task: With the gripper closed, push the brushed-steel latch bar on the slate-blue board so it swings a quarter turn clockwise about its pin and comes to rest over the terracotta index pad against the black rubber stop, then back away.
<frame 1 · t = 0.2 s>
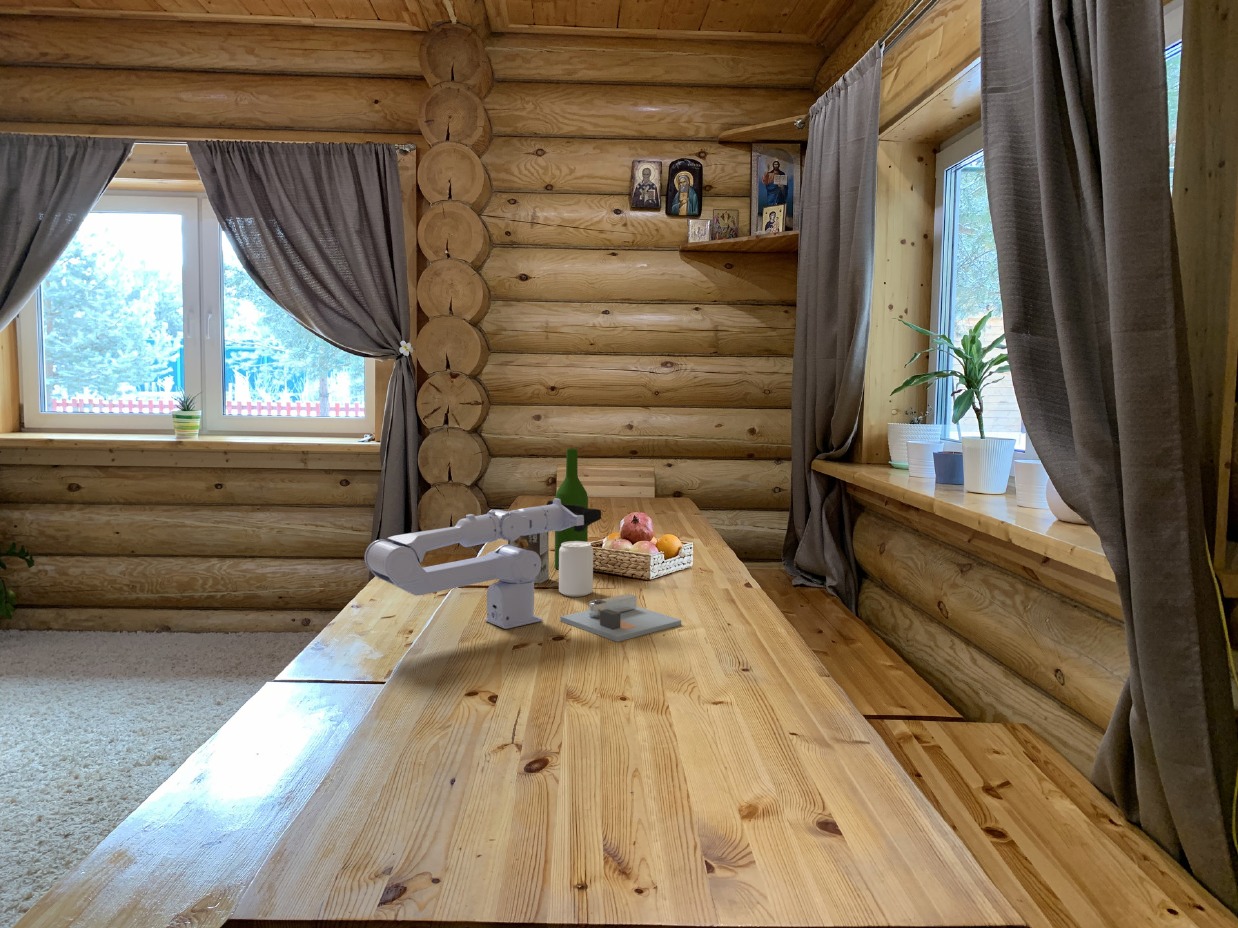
hand: (589, 512, 182), 21 cm above the table, tool horizontal, fingers open, 7 cm apart
beverage can: (575, 594, 195), on the table
coffee box: (528, 580, 207), on the table
wine bottle: (570, 568, 221), on the table
latch board: (620, 622, 171), on the table
latch bar: (612, 604, 174), point 3 cm above the table, hinge at 0.0°
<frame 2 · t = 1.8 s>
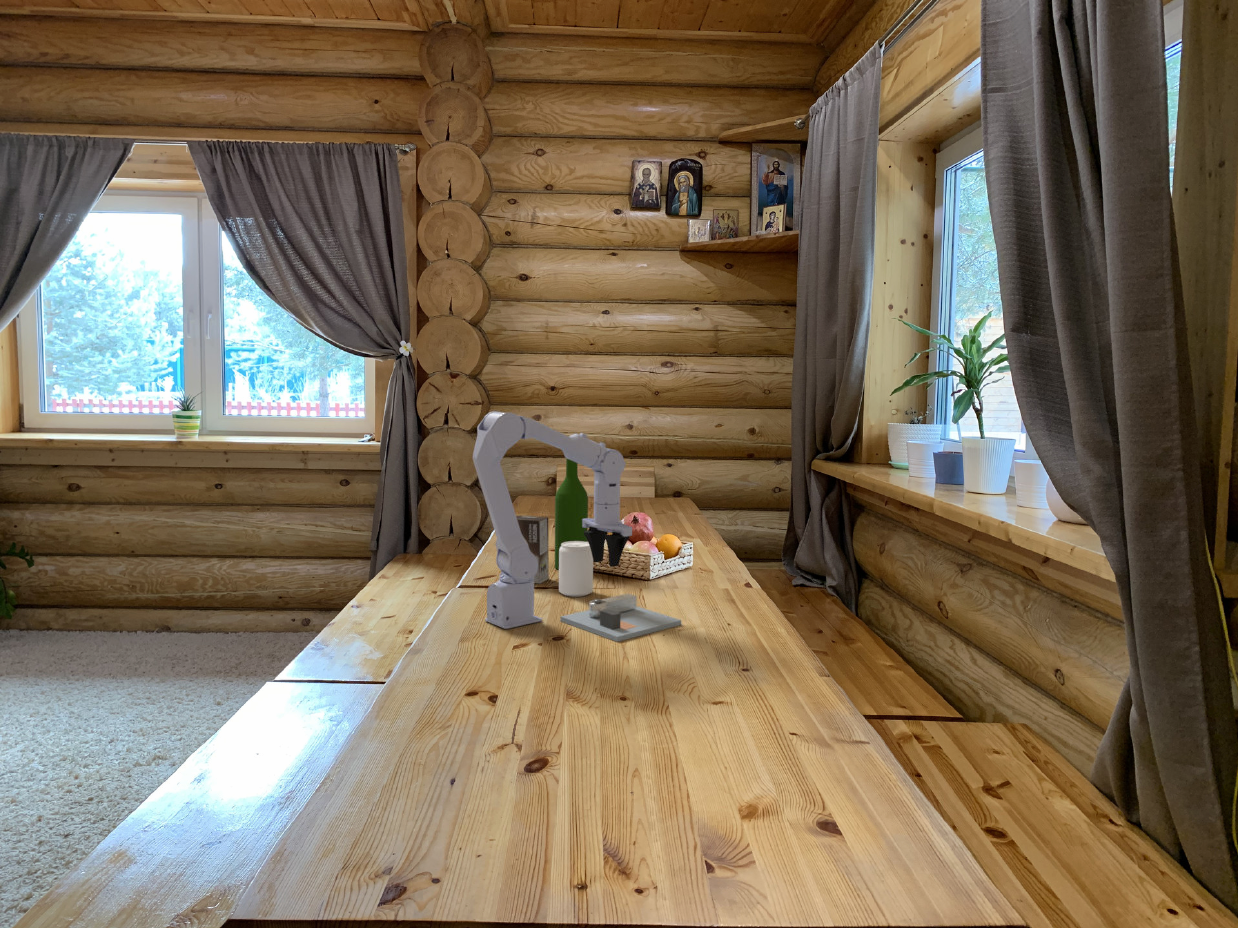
hand: (606, 563, 179), 10 cm above the table, tool pointing down, fingers open, 5 cm apart
nothing on the table moved.
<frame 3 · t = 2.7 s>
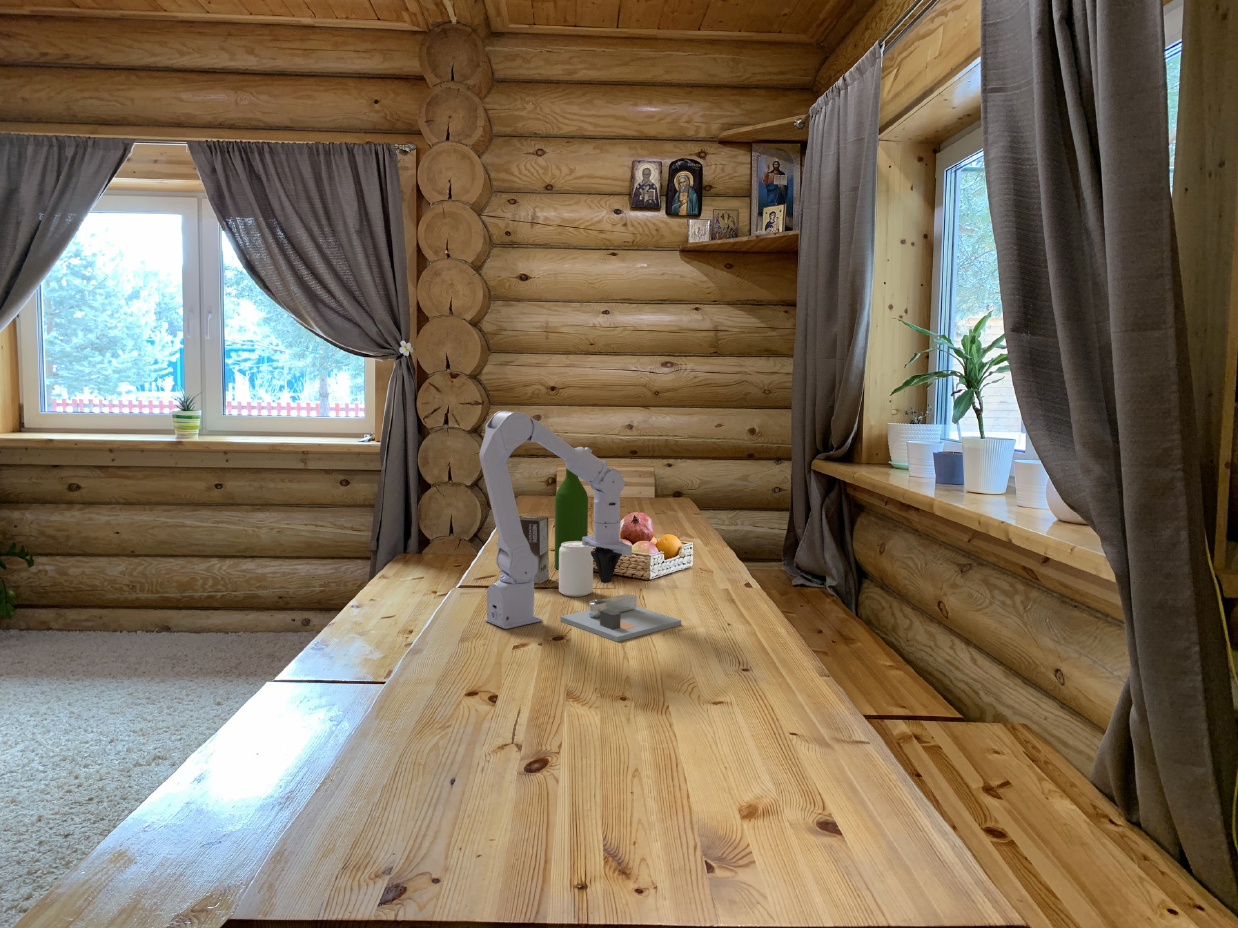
hand: (606, 582, 180), 6 cm above the table, tool pointing down, fingers closed
nothing on the table moved.
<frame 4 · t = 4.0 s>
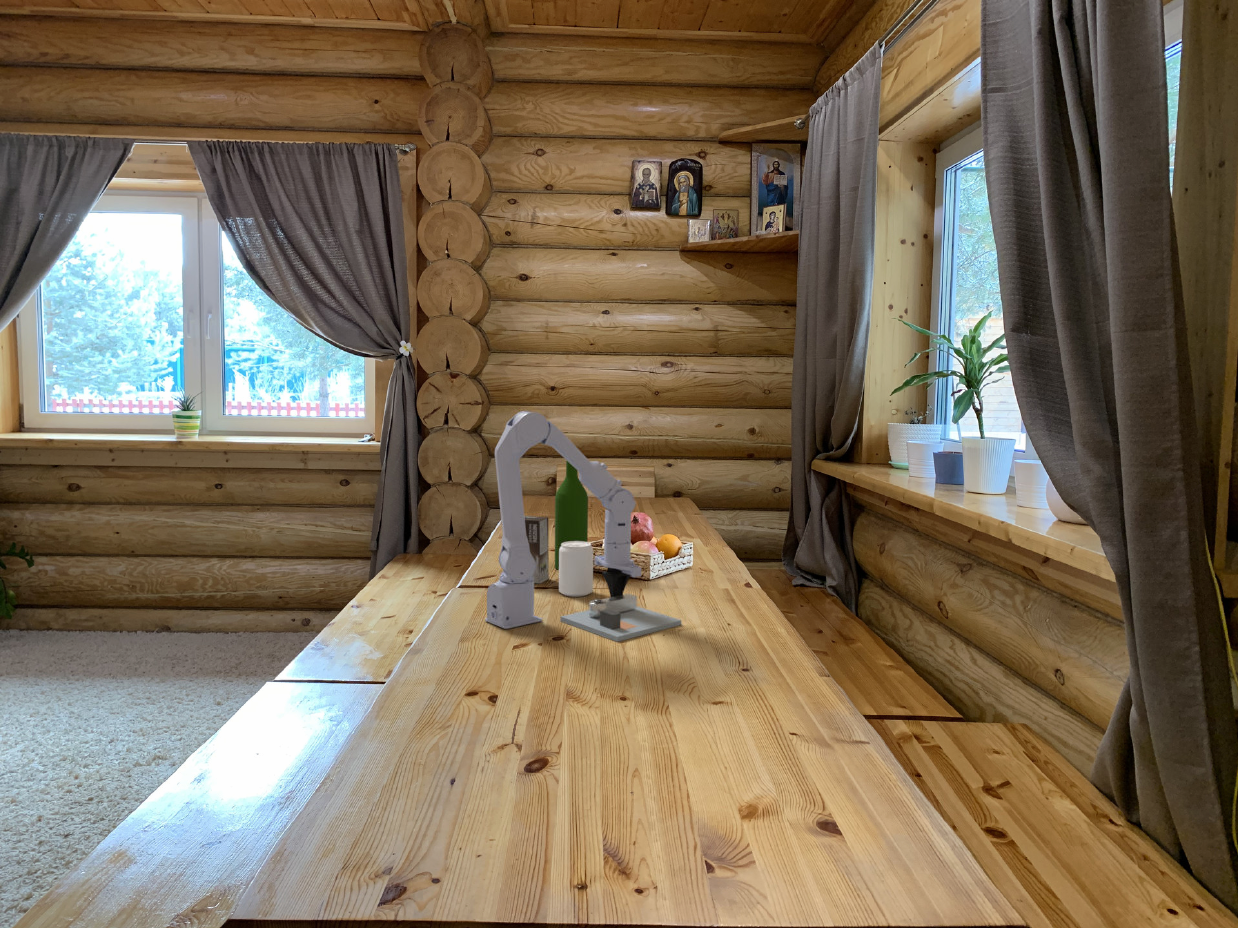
hand: (616, 602, 178), 2 cm above the table, tool pointing down, fingers closed, pressing on latch bar
latch bar: (612, 604, 174), point 3 cm above the table, hinge at 0.5°, touching gripper
everything else where it was.
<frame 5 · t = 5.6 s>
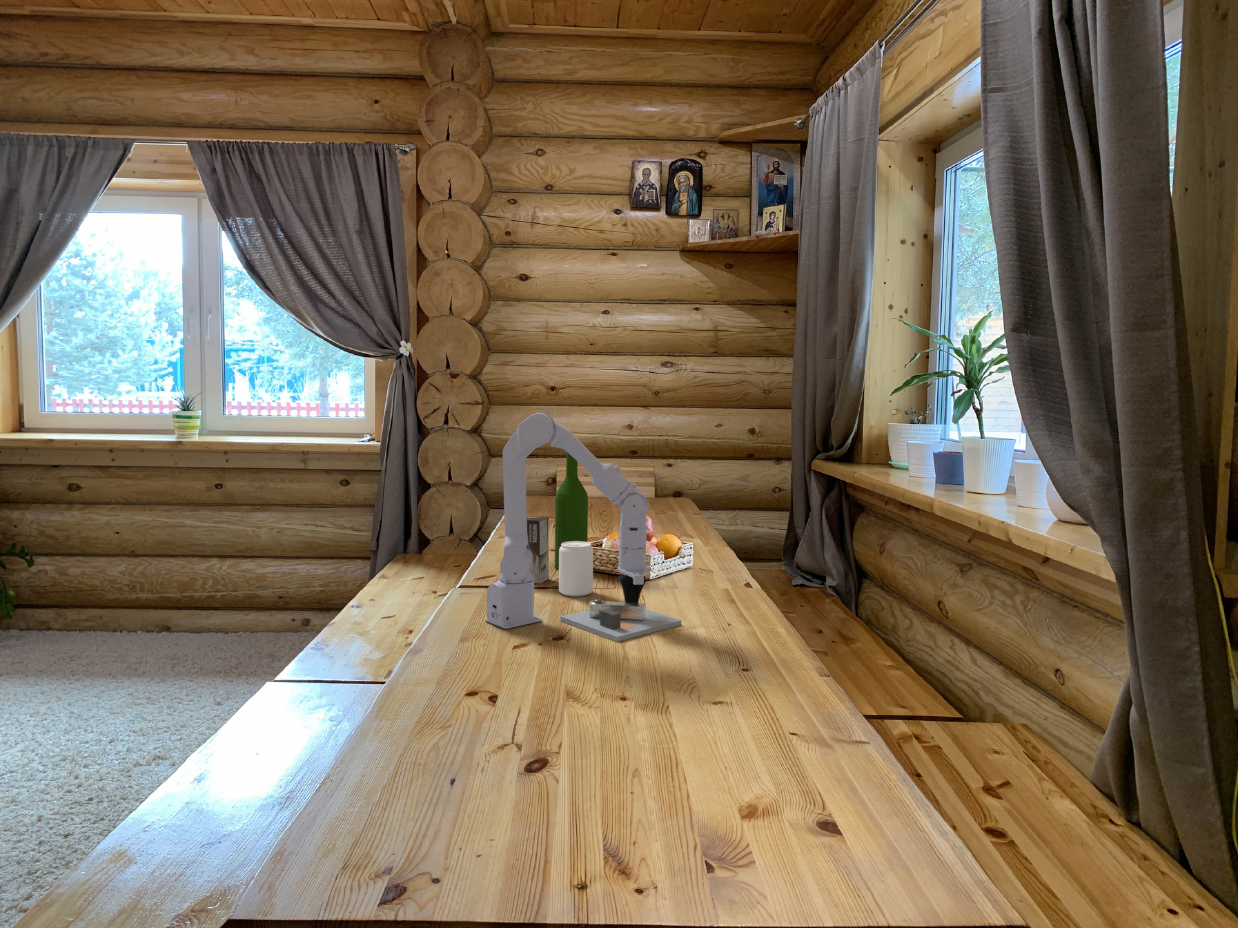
hand: (631, 609, 172), 2 cm above the table, tool pointing down, fingers closed, pressing on latch bar
latch bar: (616, 608, 171), point 3 cm above the table, hinge at 52.5°, touching gripper
everything else where it was.
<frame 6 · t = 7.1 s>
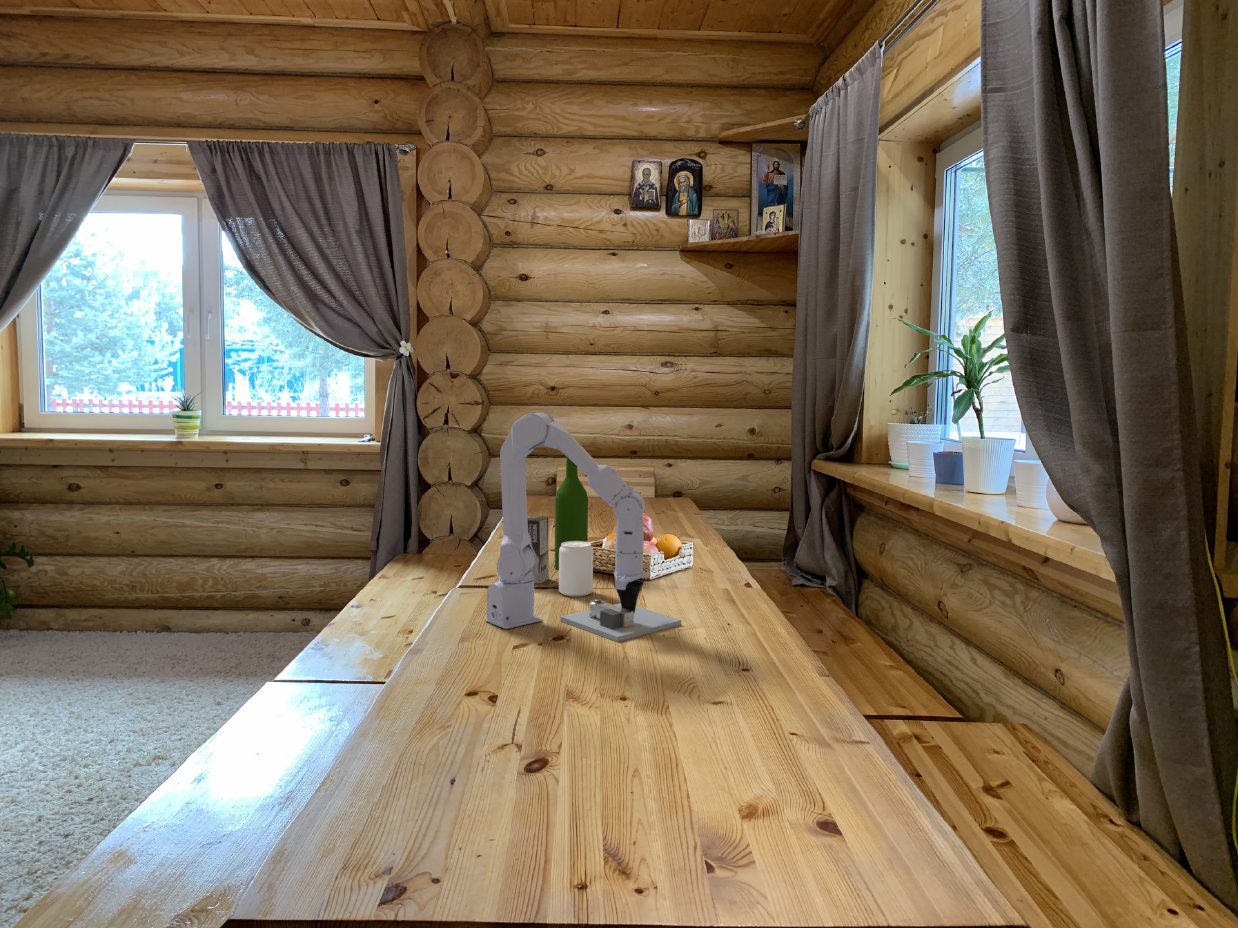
hand: (628, 615, 168), 2 cm above the table, tool pointing down, fingers closed
latch bar: (610, 611, 168), point 3 cm above the table, hinge at 91.1°, touching gripper
everything else where it was.
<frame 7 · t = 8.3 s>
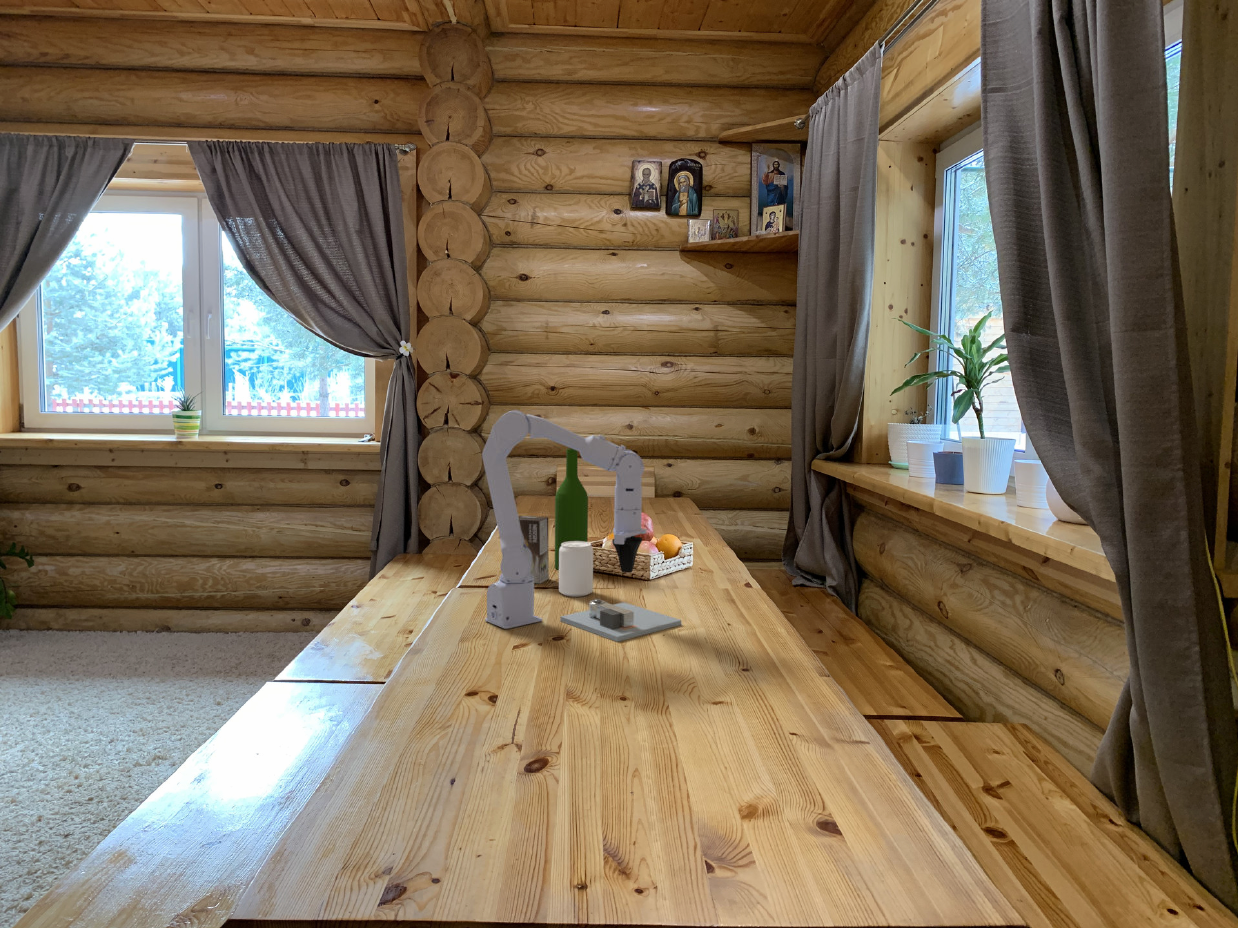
hand: (627, 571, 172), 10 cm above the table, tool pointing down, fingers closed
latch bar: (610, 611, 168), point 3 cm above the table, hinge at 91.2°
everything else where it was.
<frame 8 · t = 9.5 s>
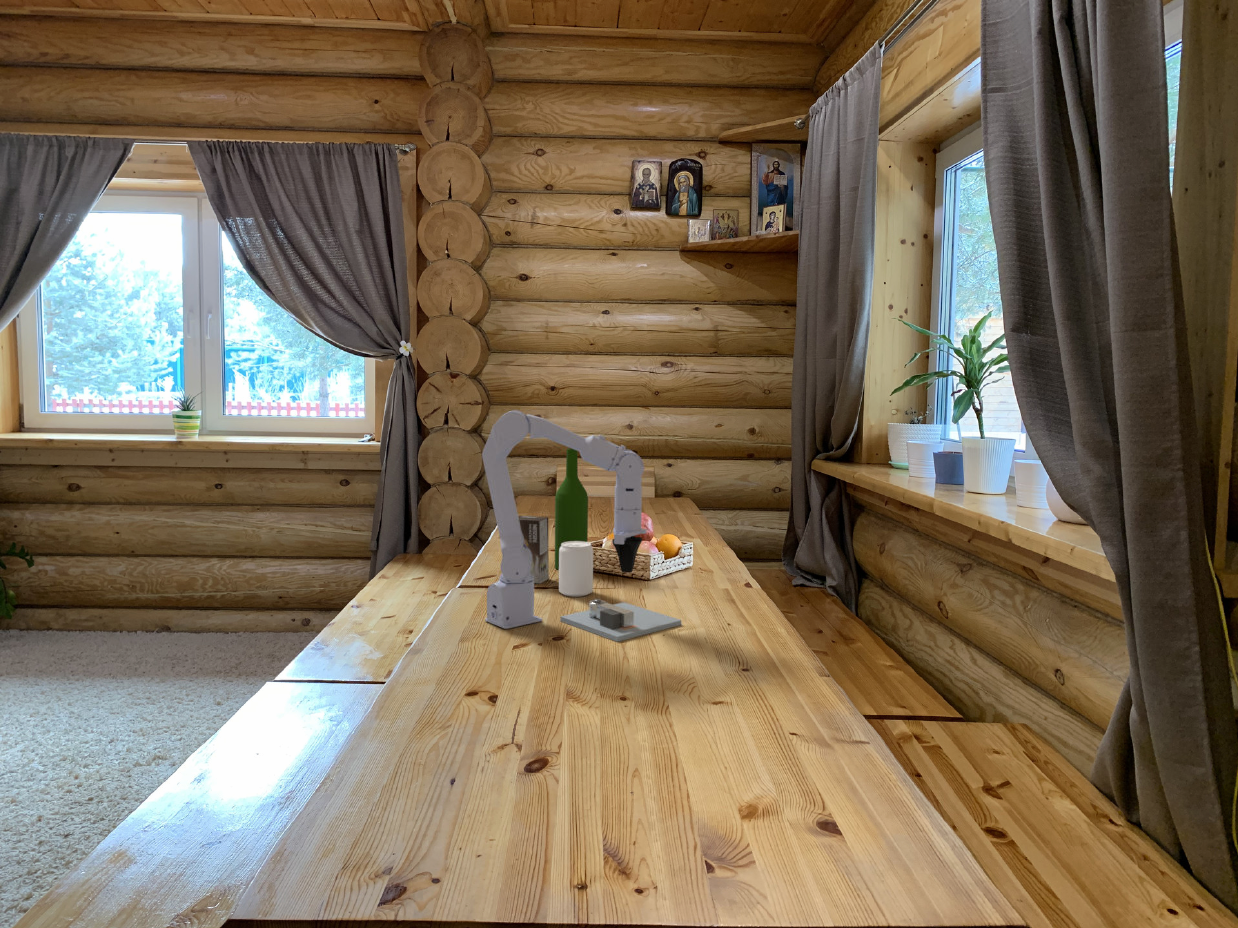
hand: (627, 571, 172), 10 cm above the table, tool pointing down, fingers closed
nothing on the table moved.
at the end: latch bar at +91° (first picture: +0°) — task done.
